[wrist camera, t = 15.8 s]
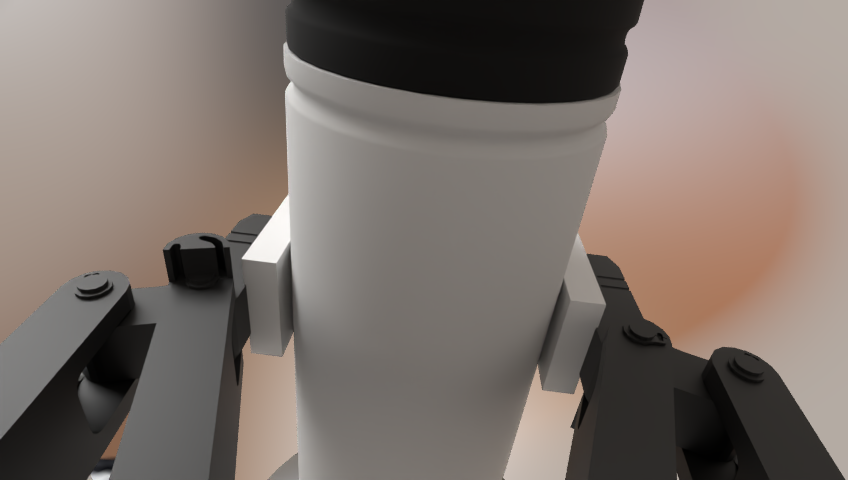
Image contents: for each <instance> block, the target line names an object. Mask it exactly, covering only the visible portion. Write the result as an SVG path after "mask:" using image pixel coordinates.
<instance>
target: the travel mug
mask: <svg viewBox="0 0 848 480" xmlns="http://www.w3.org/2000/svg"><path fill="white" fill-rule="evenodd" d="M643 2H644V0H292V1H291V4H289V5H288V6H287V8H286V37H287V38H286V39H287V41H286V43H284V45H283V46H284V66H285V70H286V74H287V77H288V78H289V79H290V80H291V82H290V84H289V85H288V87H287V89H286V92H285V101H286V127H287V128H286V129H287V158H288V184H289V214H290V242H291V270H292V298H293V326H294V351H295V353H294V354H295V379H296V381H295V382H296V410H297V437H298V466H299V480H502V479H503V476H504V472H505V469H506V466H507V463H508V459H509V456H510V453H511V450H512V446H513V443H514V440H515V436H516V433H517V430H518V427H519V423H520V420H521V416H522V413H523V410H524V407H525V404H526V400H527V397H528V394H529V390H530V387H531V384H532V380H533V377H534V374H535V371H536V367H537V364H538V361H539V357H540V354H541V351H542V348H543V344H544V341H545V338H546V334H547V331H548V328H549V325H550V321H551V318H552V315H553V311H554V308H555V305H556V302H557V298H558V295H559V292H560V288H561V285H562V282H563V279H564V275H565V272H566V269H567V265H568V262H569V259H570V256H571V252H572V249H573V246H574V242H575V239H576V236H577V233H578V229H579V226H580V222H581V219H582V216H583V213H584V209H585V206H586V203H587V200H588V196H589V193H590V190H591V187H592V183H593V180H594V176H595V173H596V170H597V167H598V164H599V160H600V157H601V154H602V150H603V147H604V144H605V141H606V137H607V129H606V123H605V121H606V120H607V119H608V118H609V117H610V115H611V114H612V113H613V111H614V110H615V108H616V104H617V101H618V98H619V95H620V91H621V87H620V80H621V76H622V73H623V70H624V66H625V63H626V59H627V56H628V50H627V47H626V45H625V38H626V35H627V32H628V31H629V30H630V29H631V28H633V27H634V26H635V25H636V24H637V23H638V20H639V16H640V13H641V9H642V5H643Z"/></svg>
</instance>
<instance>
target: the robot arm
mask: <svg viewBox="0 0 848 480" xmlns="http://www.w3.org/2000/svg"><path fill="white" fill-rule="evenodd" d="M163 253H164V258H165V263H166V268H167V273H168V278H169V284H168V285H167V286H160V287H149V288H135V289H131V286H130V282H129V279H128V277H127V276H125V275H124V274H122V273H120V272H115V271H95V272H90V273H85V274H83V275H80V276H78V277H75V278H73V279H71V280H69V281H68V282H67V283H65V284H64V285H62V286H61V287H60V288H59V289H58V290H57V291H56V292H55V293H54V294H53V295H52V296H50V297H49V298H48V299H47V300H46V301H45V302H44V303H43V304H42V305H41V306H40V307H39V308H38V309H37V310H36V311H35V312H34V313H33V314H32V315H31V316H30V317H28V318H27V319H26V320H25V321H24V323H22V324H21V325H20V326H19V327H18V328H17V329H16V330H15V331H14V332H13V333H12V334H11V335H10V336H9V337H8V338H6V340H4V341H3V342H2V343H1V344H0V480H87V479H88V477H89V476H90V474H91V472H92V471H93V469H94V468H95V466H96V464H97V463H98V461H99V460H100V458H101V456H102V455H103V453H104V451H105V450H106V448H107V447H108V445H109V443H110V442H111V440H112V439H113V437H114V435H115V434H116V432H117V431H118V429H119V427H120V426H121V424H122V422H123V421H124V419H125V418H126V416H127V414H128V413H129V411H130V413H129V416H128V419H127V422H126V426H125V429H124V433H123V436H122V439H121V442H120V445H119V449H118V452H117V455H116V459H115V462H114V465H113V469H112V472H111V475H110V478H109V480H235V468H236V455H237V442H238V429H239V428H238V427H239V415H240V402H241V389H242V375H243V355H242V348H243V347H244V345H245V343H246V341H247V340H248V338H249V336H250V345H251V353H256V354H264V355H272V356H280V357H282V356H283V354H284V352H285V350H286V347H287V345H288V343H289V341H290V339H291V336H292V334H293V332H294V326H293V298H292V270H291V242H290V214H289V194H288V196H287V197H286V199H285V200H284V201H283V203H282V204H281V205H280V207H279V208H278V209H277V211H276V212H275V214H274V215H273V216H269V215H260V214H252V215H250V216H248V217H247V218H245V219H243V220H241V221H239V222H238V224H237V225H236V226H235V227H234V229H233V230H232V231H231V233H229V234H228V236H227V237H226V238H224V237H222V236H219V235H216V234H212V233H196V234H188V235H185V236H182V237H179V238H176V239H174V240H173V241H171V242H169V243H168V244H167V245H166V246H165V248H164V249H163ZM538 368H539V374H540V380H541V385H542V390H546V391H554V392H561V393H570V394H574V392H575V389H576V386H577V384H578V381H579V378H581V382H582V386H583V390H584V393H583V396H582V399H581V402H580V404H579V406H578V409H577V412H576V414H575V417H574V420H573V422H572V425H571V428H573V429H574V434H573V440H572V446H571V451H570V456H569V462H568V467H567V473H566V478H565V480H677V474H678V477H679V480H845V478H844V477H843V475H842V474H841V472H840V471H839V469H838V467H837V466H836V464H835V463H834V461H833V459H832V458H831V456H830V455H829V453H828V452H827V450H826V448H825V447H824V445H823V444H822V442H821V441H820V439H819V438H818V436H817V434H816V433H815V431H814V429H813V428H812V426H811V425H810V423H809V422H808V420H807V418H806V417H805V415H804V414H803V412H802V410H801V409H800V407H799V406H798V404H797V403H796V401H795V399H794V398H793V396H792V395H791V393H790V391H789V390H788V388H787V387H786V385H785V384H784V382H783V380H782V379H781V377H780V376H779V374H778V373H777V372H776V371H775V370H774V369H773V368H772V367H771V366H770V365H769V364H768V363H766V362H765V361H764V360H762V359H761V358H759V357H758V356H756V355H753V354H752V353H749V352H747V351H743V350H740V349H737V348H729V347H722V348H719V349H716V350H715V351H714V352H713V354H712V355H711V357H710V359H709V360H706V359H703V358H700V357H697V356H694V355H691V354H688V353H685V352H682V351H680V350H677V349H675V348H673V347H672V343H671V341H670V338H669V336H668V335H667V334H666V333H665V332H664V331H663V329H661V328H660V327H658V326H656V325H655V324H654V323H652V322H650V321H647V320H645V319H644V318H643V316H642V314H641V312H640V310H639V308H638V306H637V304H636V302H635V300H634V298H633V295H632V293H631V291H629V287H628V285H627V283H626V281H624V277H623V275H622V273H621V270H620V268H619V267H618V266H617V265H616V264H615V263H613V261H611V260H610V259H609V258H608V257H607V256H600V255H592V254H586V252H585V249H584V247H583V244H582V242H581V239H580V237H579V234H578V233H577V236H576V239H575V242H574V246H573V249H572V252H571V256H570V259H569V262H568V265H567V269H566V272H565V275H564V279H563V282H562V285H561V288H560V292H559V295H558V298H557V302H556V305H555V308H554V311H553V315H552V318H551V321H550V325H549V328H548V331H547V334H546V338H545V341H544V344H543V348H542V351H541V354H540V357H539V361H538Z"/></svg>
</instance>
